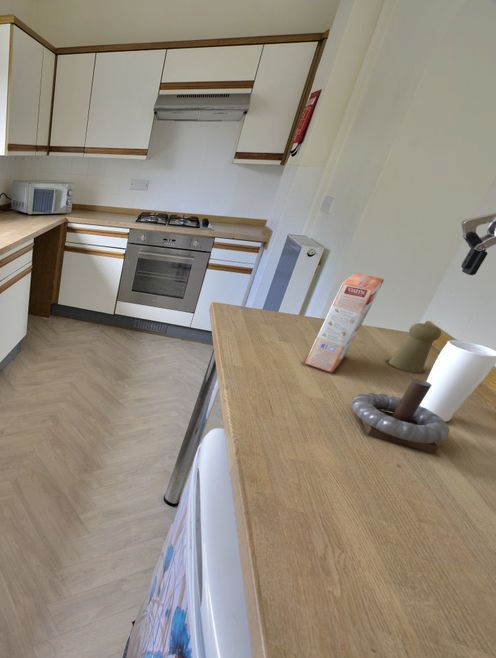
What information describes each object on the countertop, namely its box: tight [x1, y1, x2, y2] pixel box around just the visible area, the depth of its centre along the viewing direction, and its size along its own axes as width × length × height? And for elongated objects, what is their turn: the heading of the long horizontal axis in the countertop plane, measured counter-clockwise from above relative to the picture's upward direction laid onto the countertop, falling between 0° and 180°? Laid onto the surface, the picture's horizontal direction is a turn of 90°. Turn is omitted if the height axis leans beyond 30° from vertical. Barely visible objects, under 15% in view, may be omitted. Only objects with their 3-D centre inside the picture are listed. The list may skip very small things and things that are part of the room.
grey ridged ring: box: [350, 392, 450, 444], centre depth 75 cm, size 13×13×3 cm
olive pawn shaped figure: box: [388, 322, 442, 374], centre depth 98 cm, size 6×6×11 cm
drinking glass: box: [420, 339, 496, 423], centre depth 78 cm, size 7×7×15 cm
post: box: [361, 378, 439, 454], centre depth 74 cm, size 9×9×10 cm
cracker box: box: [304, 272, 385, 374], centre depth 96 cm, size 14×6×21 cm, turn 131°
